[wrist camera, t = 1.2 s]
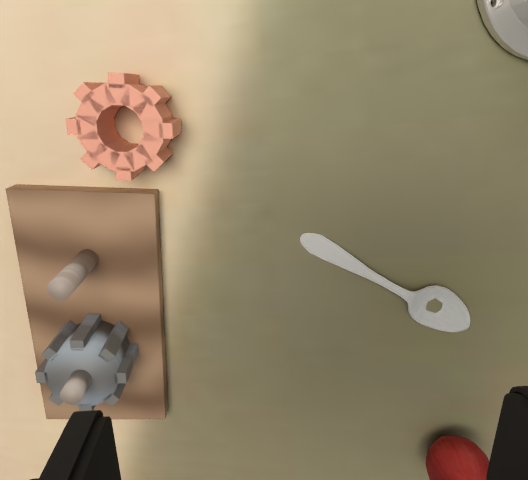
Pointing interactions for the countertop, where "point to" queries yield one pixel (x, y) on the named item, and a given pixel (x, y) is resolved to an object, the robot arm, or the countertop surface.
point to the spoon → (397, 288)
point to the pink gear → (106, 136)
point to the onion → (456, 460)
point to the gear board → (93, 297)
